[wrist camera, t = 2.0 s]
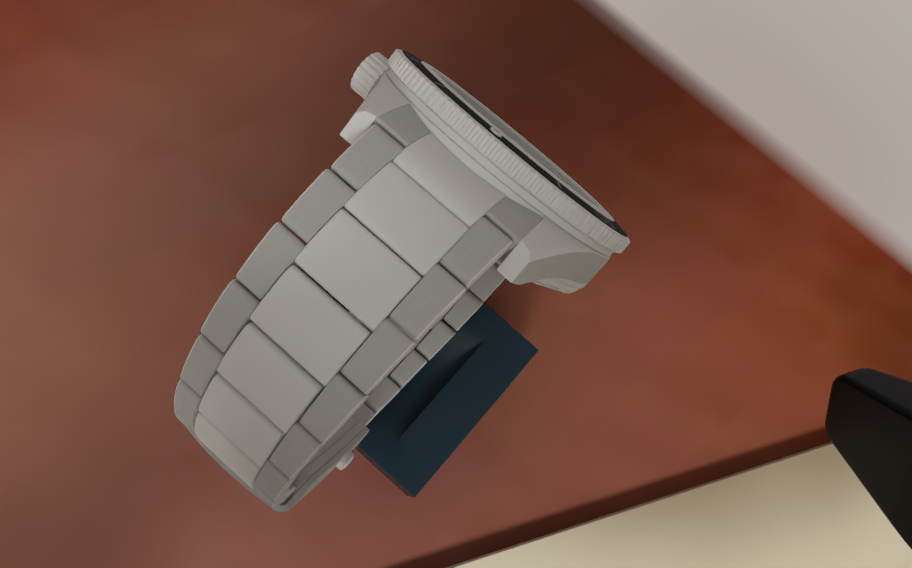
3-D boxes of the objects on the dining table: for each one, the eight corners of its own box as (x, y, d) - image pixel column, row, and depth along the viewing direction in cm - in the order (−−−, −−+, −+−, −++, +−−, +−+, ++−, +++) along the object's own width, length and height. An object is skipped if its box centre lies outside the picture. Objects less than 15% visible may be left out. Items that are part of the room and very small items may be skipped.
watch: (556, 318, 20) (758, 141, 10) (359, 551, 18) (350, 640, 8) (407, 189, 21) (448, -109, 10) (197, 401, 19) (-18, 292, 8)
